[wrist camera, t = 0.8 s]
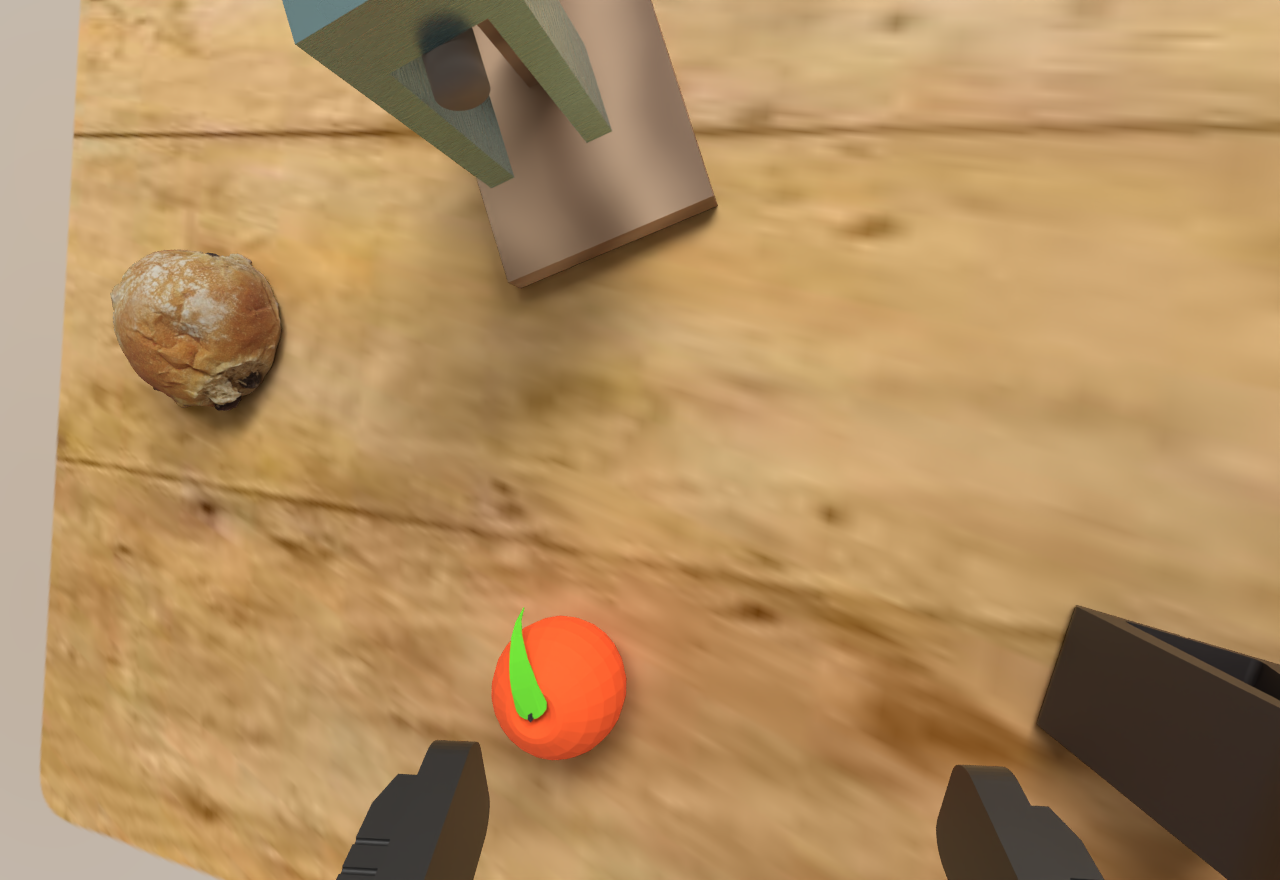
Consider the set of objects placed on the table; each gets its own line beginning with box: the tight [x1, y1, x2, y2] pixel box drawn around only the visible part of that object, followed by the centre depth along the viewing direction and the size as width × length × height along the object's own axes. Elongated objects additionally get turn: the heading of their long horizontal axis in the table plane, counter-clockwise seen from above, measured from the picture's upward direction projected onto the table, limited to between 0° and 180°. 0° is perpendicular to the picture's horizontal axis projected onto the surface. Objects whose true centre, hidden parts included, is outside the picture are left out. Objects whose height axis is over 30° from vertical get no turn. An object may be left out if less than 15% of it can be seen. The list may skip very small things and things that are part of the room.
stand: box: [422, 0, 718, 288], centre depth 25 cm, size 12×16×19 cm
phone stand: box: [1037, 605, 1280, 880], centre depth 22 cm, size 9×6×12 cm, turn 75°
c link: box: [282, 0, 612, 188], centre depth 22 cm, size 6×4×11 cm, turn 108°
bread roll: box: [110, 250, 282, 411], centre depth 39 cm, size 10×10×8 cm
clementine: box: [492, 608, 626, 760], centre depth 32 cm, size 8×7×7 cm
